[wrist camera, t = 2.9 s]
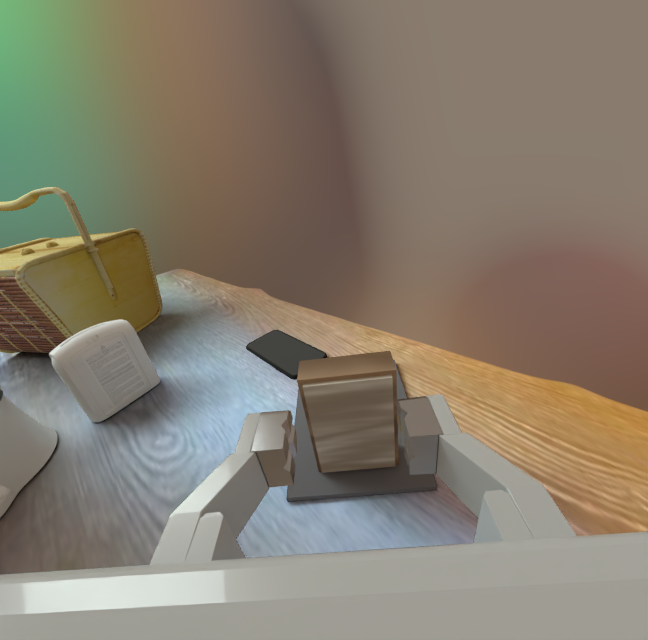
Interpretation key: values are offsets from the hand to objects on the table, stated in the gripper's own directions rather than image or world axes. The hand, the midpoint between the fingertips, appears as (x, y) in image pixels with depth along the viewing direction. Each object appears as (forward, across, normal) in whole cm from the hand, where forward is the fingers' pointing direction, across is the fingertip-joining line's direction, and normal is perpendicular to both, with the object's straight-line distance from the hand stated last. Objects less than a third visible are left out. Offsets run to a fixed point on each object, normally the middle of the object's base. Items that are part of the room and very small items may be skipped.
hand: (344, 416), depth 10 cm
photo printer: (+26, +34, +20) cm, 47 cm away
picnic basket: (+50, +57, +20) cm, 78 cm away
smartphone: (+34, +10, +20) cm, 41 cm away
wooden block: (+12, 0, +19) cm, 23 cm away
